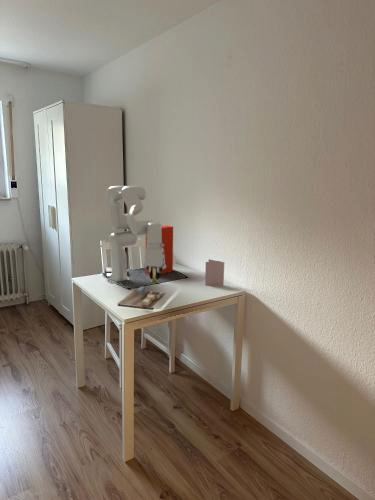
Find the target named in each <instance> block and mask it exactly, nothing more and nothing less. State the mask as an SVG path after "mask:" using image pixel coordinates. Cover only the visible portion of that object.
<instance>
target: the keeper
mask: <svg viewBox="0 0 375 500" xmlns="http://www.w3.org/2000/svg"><path fill="white" fill-rule="evenodd" d="M146 290H147V289H146V285H141V286H140V287H139V288H137V292H141V294H145V293H146Z"/></svg>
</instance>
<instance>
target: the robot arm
mask: <svg viewBox="0 0 375 500" xmlns="http://www.w3.org/2000/svg"><path fill="white" fill-rule="evenodd" d="M146 197H147V193H146V190H145V188H144V187H143V186H141V185H113V186H110V187H108V188H107V189H106V192H105V198H106V202H107V205H108V211H109V224H110V227H111V229H112V230H115V232H112V233H110V234H109V236H108V243H109V247H110V262H111V263H110V266H111V267H110V268H111V269H112V273H111V274H109V273H107V274H106V276H107V277H106V276H105V277H106V278H109V280H108V281H109V282H110V283H111V284H115V283H117V282H123V281H126V280H127V281H130V278H129V276H127V269H128V268H127V267H128V264H127V258H128V257H127V252H126V250H125V249H124V247H130V246H131V247H132V246H135V244H136V243H137V240H138V239H137V238H138V236H146V234H147V248H146V247H145V256H144V262H143V265H142V266H143V268H145V269H146V268H147V269H148V270H149V272H150V275H149V278H150V280H152V267H157V273H156V279H157V280H159V279H160V278H161V274H160V271H161V270H162V269H165V268H166V265H165V256H164V250H163V248H162V247H163V246H164V244H162V232H161V226H162V224H161V222H156V221H154V220H152V219H150V220H149V219H148V220H147V219H146V220H138V221H137V219H136V218H135V216H136V215H138V214H139V213H141V212H142V211H143V210H144V204H143V202H142V201H144V200H146ZM121 201H123V202H124V204H125V205H126V208H127V209H128V212H127V213H124V206H123V204H122V203H121ZM117 230H118V231H117ZM119 230H124V231H119ZM162 266H163V267H162Z"/></svg>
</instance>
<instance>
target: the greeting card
mask: <svg viewBox="0 0 375 500" xmlns="http://www.w3.org/2000/svg"><path fill="white" fill-rule="evenodd" d="M204 270H205V273H204V274H205V275H204V276H205V278H204V286H220V287H221V286H224V283H225V282H224V280H225V262H224V261H220V260H213V259H208V261H205V269H204Z"/></svg>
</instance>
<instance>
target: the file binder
mask: <svg viewBox="0 0 375 500" xmlns="http://www.w3.org/2000/svg"><path fill="white" fill-rule="evenodd" d="M161 232H162V244H164V246H163V247H162V248H163V250H164V256H165V265H166V268H165V269H162V270H161V271H160V275H163V274H167V272H168V273H172V272H171V271H174V269H173V268H174V267H173V266H174V262H173V261H174V226H171V225H167V224H166V225H161ZM146 248H147V234H145V249H146ZM162 267H163V266H162ZM145 273H146V274H148V275H149V276H150V272H149V270H148V269H147V268H145Z"/></svg>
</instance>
